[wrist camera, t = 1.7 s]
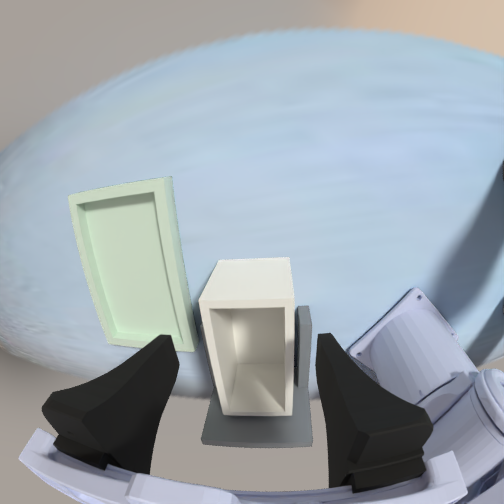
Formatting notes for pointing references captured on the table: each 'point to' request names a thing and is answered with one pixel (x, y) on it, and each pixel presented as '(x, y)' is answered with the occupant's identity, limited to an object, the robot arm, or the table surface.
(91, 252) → the tray
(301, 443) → the bay
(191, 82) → the table surface
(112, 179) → the table surface
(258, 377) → the box
